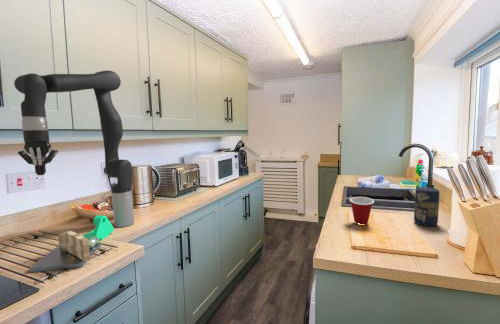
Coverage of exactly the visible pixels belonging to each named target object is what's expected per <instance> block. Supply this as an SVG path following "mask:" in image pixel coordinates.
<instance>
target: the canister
mask: <svg viewBox="0 0 500 324" xmlns="http://www.w3.org/2000/svg"><path fill="white" fill-rule="evenodd" d="M439 206H440V190H439V189H438V188H434V187H430V186H427V187H426V186H425V187H424V186H422V187H421V186H420V187H417V188H416V189H415V193H414V206H413V207H414V208H413V209H414V211H413V212H414V213H413V221H414V222H415V223H417V224H419V225H423V226H429V227H432V226H436V225H438V223H439V211H440V210H439Z"/></svg>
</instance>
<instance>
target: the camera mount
mask: <svg viewBox="0 0 500 324" xmlns="http://www.w3.org/2000/svg"><path fill="white" fill-rule="evenodd" d="M93 218H94V219H93V225H94V226H95V227H94V229H93V230H91V231H89V232H87V233H85V234H82V236H83V237H85V238H87V239H88V240H89V239H90V238H92V237H93V236H97V237H98V238H99V241H103V240H104V239H106V238H108V237H109V236H110V234H111V233H113V232H114V231H115V230H114V226H113V224H112V223H111V221H110V220H109V218H108V217H107V216H106V215H95V217H93ZM108 235H109V236H108ZM107 236H108V237H107ZM105 237H106V238H105ZM102 239H103V240H102Z"/></svg>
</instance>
